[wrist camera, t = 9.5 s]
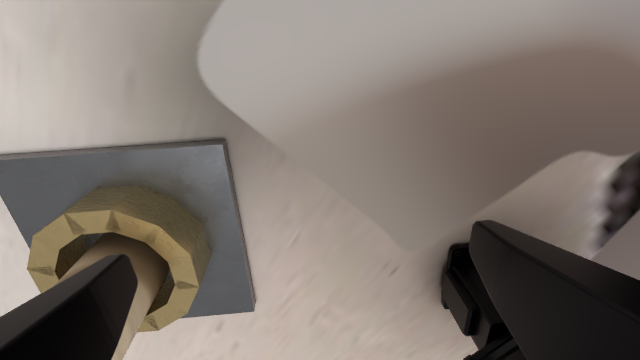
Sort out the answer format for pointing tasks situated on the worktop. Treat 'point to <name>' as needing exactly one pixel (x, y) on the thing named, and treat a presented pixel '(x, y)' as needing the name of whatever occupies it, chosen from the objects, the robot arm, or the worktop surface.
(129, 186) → the ring collar
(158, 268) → the piston
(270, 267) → the worktop surface
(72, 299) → the robot arm
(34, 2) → the worktop surface
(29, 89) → the worktop surface
